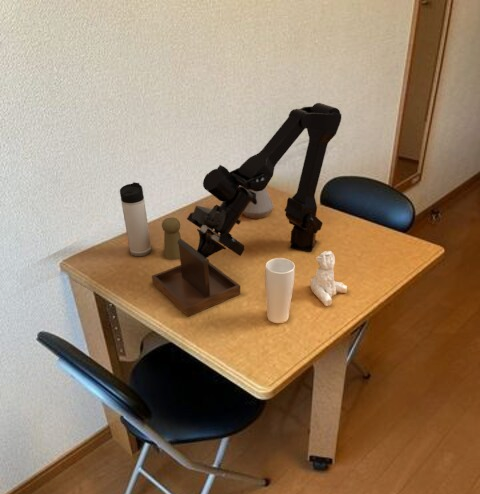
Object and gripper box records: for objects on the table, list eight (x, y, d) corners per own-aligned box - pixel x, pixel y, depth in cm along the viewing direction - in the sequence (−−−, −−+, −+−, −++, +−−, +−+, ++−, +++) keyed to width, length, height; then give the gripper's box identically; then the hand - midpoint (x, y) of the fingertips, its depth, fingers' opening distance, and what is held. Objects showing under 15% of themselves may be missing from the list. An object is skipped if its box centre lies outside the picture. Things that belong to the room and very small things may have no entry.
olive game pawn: (181, 260, 143) (177, 225, 136) (161, 258, 144) (156, 223, 137) (187, 249, 147) (184, 215, 140) (167, 247, 148) (163, 214, 141)
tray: (203, 264, 140) (200, 225, 133) (240, 293, 129) (239, 253, 121) (152, 283, 133) (146, 244, 125) (187, 316, 122) (183, 275, 114)
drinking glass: (262, 310, 123) (263, 258, 114) (289, 308, 124) (292, 256, 114) (265, 327, 118) (267, 274, 109) (294, 325, 118) (297, 272, 109)
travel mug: (155, 247, 149) (146, 183, 136) (145, 258, 144) (135, 193, 131) (137, 244, 150) (126, 180, 138) (126, 254, 145) (114, 190, 133)
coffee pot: (251, 203, 171) (251, 160, 162) (279, 211, 166) (281, 167, 157) (213, 227, 158) (210, 182, 149) (242, 237, 153) (241, 191, 143)
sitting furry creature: (327, 308, 124) (332, 267, 116) (299, 294, 128) (302, 254, 121) (348, 291, 129) (354, 251, 122) (321, 279, 134) (325, 240, 126)
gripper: (190, 181, 124) (156, 233, 126) (233, 207, 112) (195, 264, 114) (217, 202, 133) (185, 251, 135) (260, 229, 121) (224, 281, 123)
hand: (196, 261), depth 126 cm, fingers closed, pressing on tray
